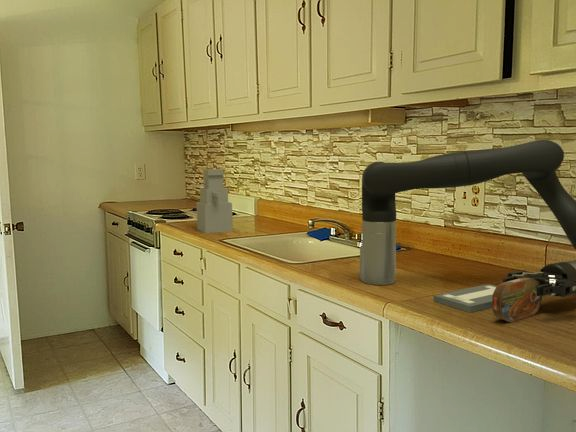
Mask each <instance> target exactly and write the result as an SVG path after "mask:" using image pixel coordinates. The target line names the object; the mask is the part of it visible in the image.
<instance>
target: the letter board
mask: <svg viewBox="0 0 576 432" xmlns="http://www.w3.org/2000/svg"><path fill="white" fill-rule="evenodd" d="M497 286H498V285H494V284H489V283H487V284H483V285H478V286H477V285H476V286H473V287H469V288H464V289H458V290H455V291H449V292H443V293H439V294H438V293H437V294H434V295H433V302H435V303H438V304H440V305H444V306H447V307H450V308H454V309H456V310H459V311H460V310H461V311H462V312H467V313H470V314H471V313H474V312H479V311H483V310H488V309H491V308H492V309H493V307H492V296H493V293H494V290H495V289H496V287H497Z"/></svg>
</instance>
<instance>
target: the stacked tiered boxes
mask: <svg viewBox="0 0 576 432" xmlns="http://www.w3.org/2000/svg"><path fill="white" fill-rule="evenodd" d="M224 176H227V174H224V169H219V168H214V169H213V168H212V169H211V168H210V169H206V168H205V169H203V181H199V183H201V184H203V187H199V201H196V229H197V231H200V232H202V233H204V234H211V233H223V232H224V233H226V232H233V231H234V229H233V228H234V227H233V224H234V223H233V202H230V201H229V188H228V187H224Z"/></svg>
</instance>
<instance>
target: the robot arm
mask: <svg viewBox="0 0 576 432" xmlns="http://www.w3.org/2000/svg"><path fill="white" fill-rule="evenodd" d="M564 158H565V152H564V150H563V147H562V146H561V145H560V144H558V143H557V142H556V141H552V140H549V139H536V140H533V141H529V142H525V143H519V144H516V145H511V146H506V147H505V146H504V147H496V148H486V149H485V148H484V149H476V150H467V151H466V150H464V151H457V152H450V153H444V154H443V153H442V154H438V155H435V156H431V157H427V158H424V159H421V160H416V161H409V162H408V161H407V162H384V161H374V162H372V163H370V164H368V165H367V166H366V167H365V168H364V170H363V171H362V172H363V173H362V177H361V213H362V214H361V215H362V216H361V217H362V218H361V219H362V222H361V223H362V224H361V225H362V226H361V230H362V231H361V232H362V233H361V236H362V237H361V238H362V239H361V240H362V241H361V246H360V247H359V279H360V280H361V281H362V283H365V284H369V285H375V286H384V285H385V286H387V285H392V284H395V283H396V269H397V268H396V266H397V265H396V264H397V263H396V262H397V260H396V258H397V256H396V255H397V244H396V243H397V207H396V194H397V193H398V194H399V193H402V192H407V191H412V190H419V189H421V190H423V189H447V188H449V189H451V188H460V187H469V186H475V185H478V184H482V183H485V182H488V181H491V180H494V179H497V178H500V177H503V176H507V175H511V174H512V175H513V174H522V175H523V177H524V178H525V179H526V180H527V182H528V183H529V184H530V186H531V187H533V189H534V190H535V191H536V192H537V194H538V195H539V196H540V198H541V199H542V200H543V202H544V203H545V204H546V206H547V207H548V208H549V210H550V211H551V212H552V214H553V215H554V217H555V218H556V220H557V222H558V224H559V225H560V227H561V228H562V230H563V232H564V234H565V236H566V237H567V240H568V241H569V242H570V245H571V246H572V247H573V249H574V250H575V251H576V199H575V198H574V197H573V196H571V195H570V193H569V192H568V191H567V190H566V189H565V188H564V186H563V184H562V183H561V181H560V180H559V179H560V178H559V177H558V174H557V172H556V171H557V170H558V169H559V168H560V167H561V165H562V164H563V161H564ZM506 274H507V275H506V277H504V278H502V283H503V282H508V281H512V280H515V279H519V278H534V279H536V280H537V281H538V282H539V283H540V286H537V292H536V295H537V296H540V297H541V296H542V297H544V296H545V297H546V296H552V297H561V298H564V297H567V296H571V295H575V294H576V259H573V260H564V261H558V262H553V263H549V264H546V265H544V266H543V267H542V268H541V269H540V270H539V271H535V272H527V270H525V269H522V270H518V271H512V272H507V273H506Z"/></svg>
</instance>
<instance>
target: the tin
mask: <svg viewBox="0 0 576 432" xmlns="http://www.w3.org/2000/svg"><path fill="white" fill-rule="evenodd" d="M496 286H497V287H496V289H495V290H494V293H493V296H492V312H493V315H494V316H495V318H496V319H498V320H501V321H505V322H508V323H513V322H517V321H520V320H523V319H527V318H529V317H532V316H534V315H536V314H537V313H538V311H539V309H540V308H541V305H542V301H543V296H541V297H540V296H537V295H536V292H537V286H540V283H539V282H538V281H537V280H536V279H534V278H519V279H515V280H512V281H508V282H503V281H502V282H501V283H499V284H498V285H496Z"/></svg>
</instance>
